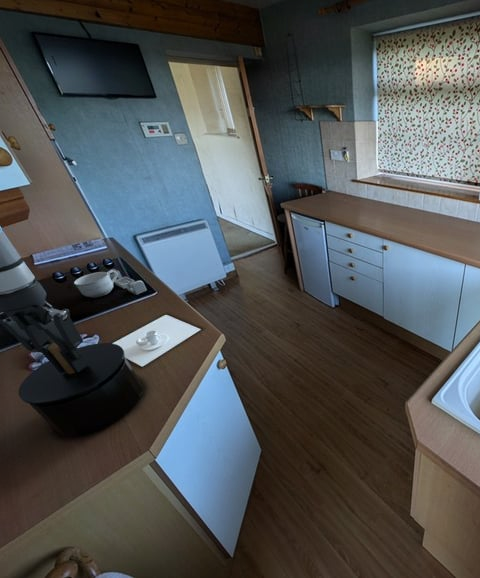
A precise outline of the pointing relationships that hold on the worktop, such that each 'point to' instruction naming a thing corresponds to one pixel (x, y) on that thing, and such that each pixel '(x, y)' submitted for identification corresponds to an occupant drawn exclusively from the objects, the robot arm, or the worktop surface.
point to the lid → (71, 374)
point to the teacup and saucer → (155, 339)
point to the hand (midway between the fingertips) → (73, 368)
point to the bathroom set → (128, 283)
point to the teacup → (96, 284)
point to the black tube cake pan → (95, 404)
